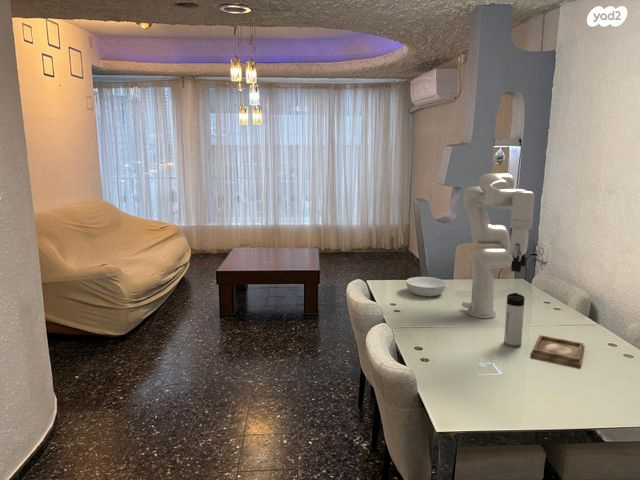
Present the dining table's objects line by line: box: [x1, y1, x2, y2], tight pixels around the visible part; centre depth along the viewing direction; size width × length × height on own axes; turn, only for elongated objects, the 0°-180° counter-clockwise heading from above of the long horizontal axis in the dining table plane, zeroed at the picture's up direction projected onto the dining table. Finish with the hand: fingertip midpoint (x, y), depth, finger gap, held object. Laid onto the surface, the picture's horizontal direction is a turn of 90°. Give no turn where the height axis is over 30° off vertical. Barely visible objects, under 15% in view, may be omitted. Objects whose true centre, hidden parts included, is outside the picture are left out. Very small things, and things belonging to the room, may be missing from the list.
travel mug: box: [503, 292, 525, 348], centre depth 179 cm, size 6×7×20 cm
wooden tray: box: [530, 334, 586, 369], centre depth 172 cm, size 16×18×3 cm
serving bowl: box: [405, 276, 448, 297], centre depth 244 cm, size 21×21×7 cm
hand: (518, 268), depth 175 cm, fingers open, 9 cm apart
